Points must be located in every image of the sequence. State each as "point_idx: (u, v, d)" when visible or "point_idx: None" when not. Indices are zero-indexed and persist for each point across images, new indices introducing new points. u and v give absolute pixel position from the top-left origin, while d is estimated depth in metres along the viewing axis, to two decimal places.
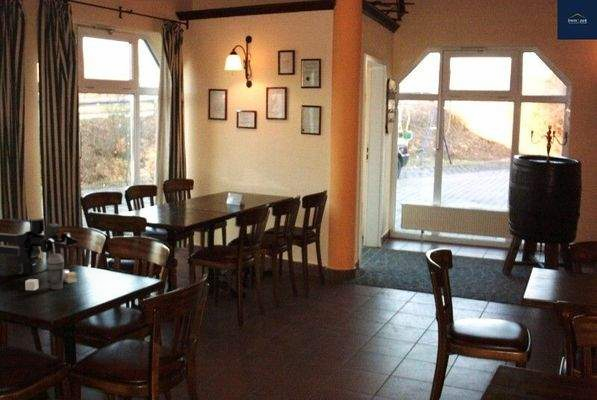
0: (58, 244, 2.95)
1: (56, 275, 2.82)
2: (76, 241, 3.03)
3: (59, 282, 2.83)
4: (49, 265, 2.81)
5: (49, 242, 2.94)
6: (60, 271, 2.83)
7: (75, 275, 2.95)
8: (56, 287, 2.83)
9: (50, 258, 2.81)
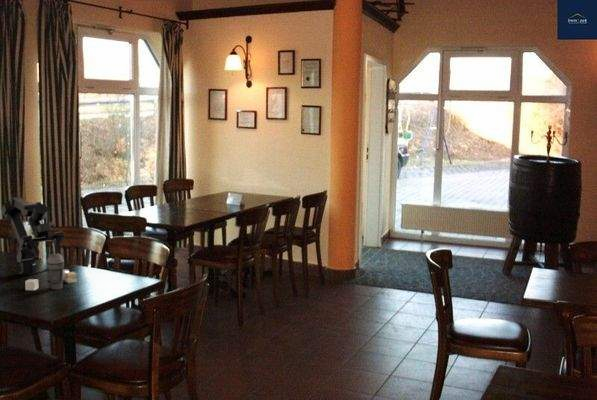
0: (34, 250, 2.86)
1: (56, 275, 2.82)
2: (57, 252, 2.92)
3: (59, 282, 2.83)
4: (49, 265, 2.81)
5: (28, 243, 2.86)
6: (60, 271, 2.83)
7: (75, 275, 2.95)
8: (56, 287, 2.83)
9: (50, 258, 2.81)
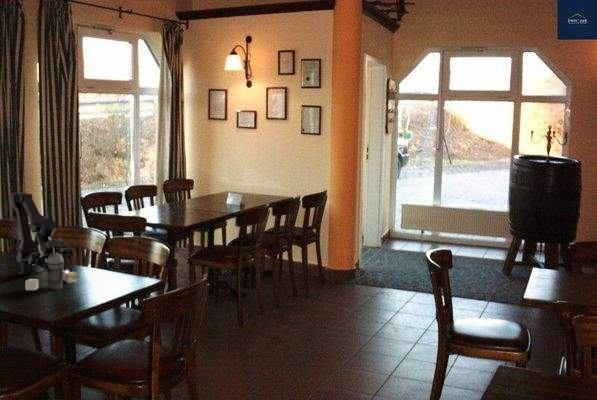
0: (45, 267, 2.81)
1: (56, 275, 2.82)
2: (64, 269, 2.86)
3: (59, 282, 2.83)
4: (49, 265, 2.81)
5: (39, 260, 2.81)
6: (60, 271, 2.83)
7: (75, 275, 2.95)
8: (56, 287, 2.83)
9: (50, 258, 2.81)
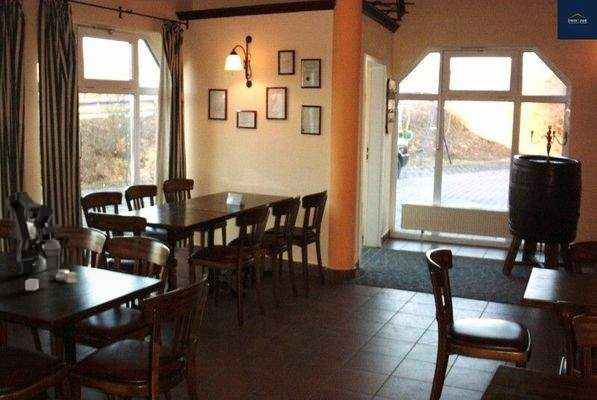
0: (42, 253, 2.83)
1: (52, 261, 2.83)
2: (60, 255, 2.87)
3: (55, 268, 2.85)
4: (45, 251, 2.82)
5: (36, 246, 2.82)
6: (56, 257, 2.84)
7: (75, 275, 2.95)
8: (52, 273, 2.85)
9: (46, 244, 2.82)
